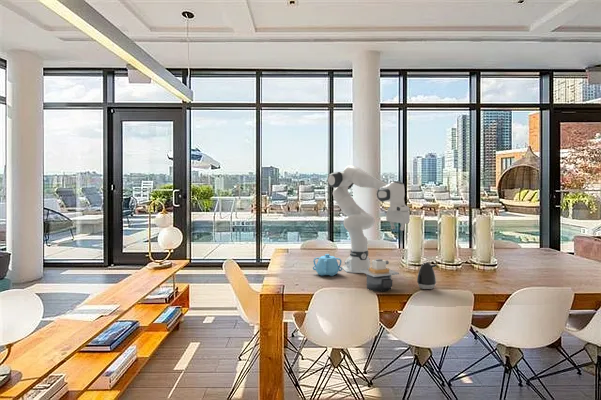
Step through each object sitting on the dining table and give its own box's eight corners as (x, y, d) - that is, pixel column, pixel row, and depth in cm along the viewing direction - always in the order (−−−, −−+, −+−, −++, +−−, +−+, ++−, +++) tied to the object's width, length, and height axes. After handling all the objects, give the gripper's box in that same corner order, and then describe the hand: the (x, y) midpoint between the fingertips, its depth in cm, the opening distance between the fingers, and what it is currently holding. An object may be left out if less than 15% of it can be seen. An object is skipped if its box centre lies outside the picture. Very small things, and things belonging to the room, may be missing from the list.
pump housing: (372, 270, 246) (372, 259, 246) (385, 269, 250) (385, 258, 249) (376, 272, 242) (376, 260, 241) (390, 270, 245) (390, 259, 245)
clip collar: (368, 270, 247) (368, 267, 247) (381, 269, 250) (381, 266, 250) (375, 273, 240) (375, 270, 240) (389, 271, 243) (389, 269, 243)
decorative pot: (344, 275, 278) (344, 255, 278) (323, 278, 271) (322, 257, 270) (331, 271, 293) (331, 251, 292) (311, 273, 286) (310, 253, 285)
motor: (359, 286, 250) (359, 269, 250) (383, 283, 256) (383, 267, 255) (376, 294, 233) (376, 276, 233) (400, 291, 239) (400, 273, 239)
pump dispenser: (435, 291, 236) (435, 264, 236) (416, 290, 240) (416, 263, 240) (436, 287, 246) (436, 261, 245) (418, 285, 250) (418, 260, 249)
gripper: (383, 206, 273) (383, 228, 273) (402, 208, 254) (402, 231, 254) (392, 206, 275) (392, 227, 276) (411, 208, 256) (411, 231, 257)
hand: (397, 229), depth 265 cm, fingers open, 8 cm apart
